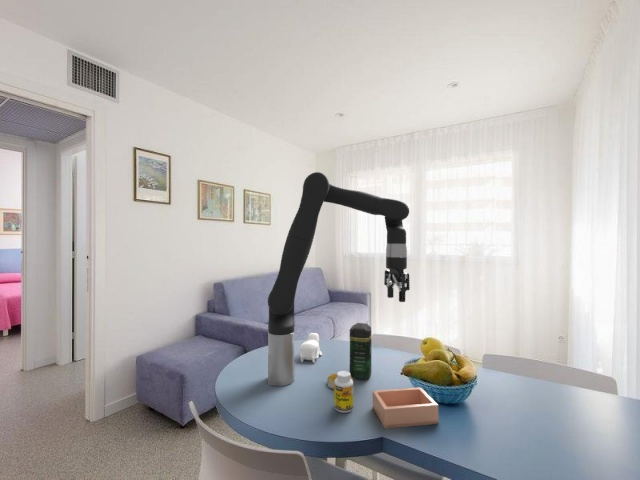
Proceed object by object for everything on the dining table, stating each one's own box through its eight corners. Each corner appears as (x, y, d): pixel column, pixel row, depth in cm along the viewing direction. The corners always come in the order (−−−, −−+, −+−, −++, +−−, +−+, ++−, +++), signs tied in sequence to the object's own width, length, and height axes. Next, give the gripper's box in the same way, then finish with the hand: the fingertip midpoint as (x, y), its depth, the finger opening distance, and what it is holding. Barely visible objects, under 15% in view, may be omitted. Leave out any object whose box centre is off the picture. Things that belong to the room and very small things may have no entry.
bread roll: (358, 386, 102) (357, 375, 102) (335, 393, 98) (335, 380, 98) (345, 377, 109) (345, 366, 109) (323, 382, 105) (323, 371, 105)
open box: (384, 428, 78) (384, 409, 78) (372, 407, 88) (372, 390, 88) (438, 423, 80) (438, 404, 80) (421, 404, 90) (420, 387, 90)
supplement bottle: (332, 411, 86) (332, 376, 86) (337, 402, 92) (336, 368, 92) (351, 415, 85) (351, 378, 85) (355, 405, 90) (354, 370, 90)
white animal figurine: (318, 369, 123) (324, 344, 137) (317, 352, 120) (323, 329, 134) (298, 367, 125) (306, 343, 138) (296, 351, 122) (304, 328, 136)
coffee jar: (370, 382, 105) (369, 329, 105) (347, 379, 107) (347, 327, 107) (373, 371, 114) (372, 322, 114) (352, 368, 116) (352, 320, 116)
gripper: (378, 255, 117) (378, 296, 117) (397, 256, 104) (396, 303, 103) (395, 255, 119) (395, 296, 119) (416, 256, 106) (415, 302, 105)
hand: (396, 299), depth 111 cm, fingers open, 8 cm apart
